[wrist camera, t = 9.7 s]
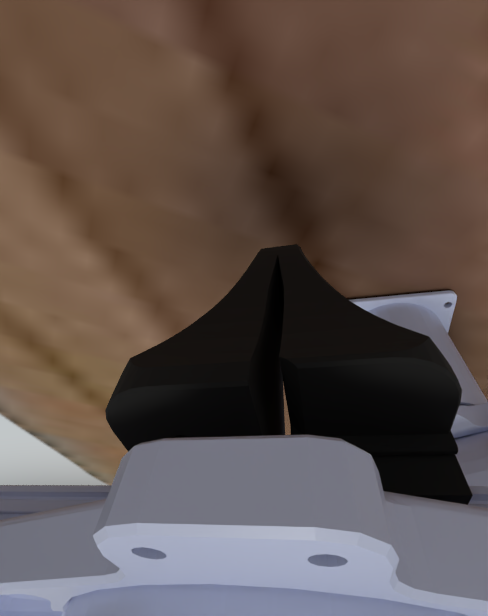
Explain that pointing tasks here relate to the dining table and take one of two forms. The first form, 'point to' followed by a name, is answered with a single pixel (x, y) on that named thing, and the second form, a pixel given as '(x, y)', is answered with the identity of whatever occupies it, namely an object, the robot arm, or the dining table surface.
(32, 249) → the dining table surface
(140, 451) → the robot arm
